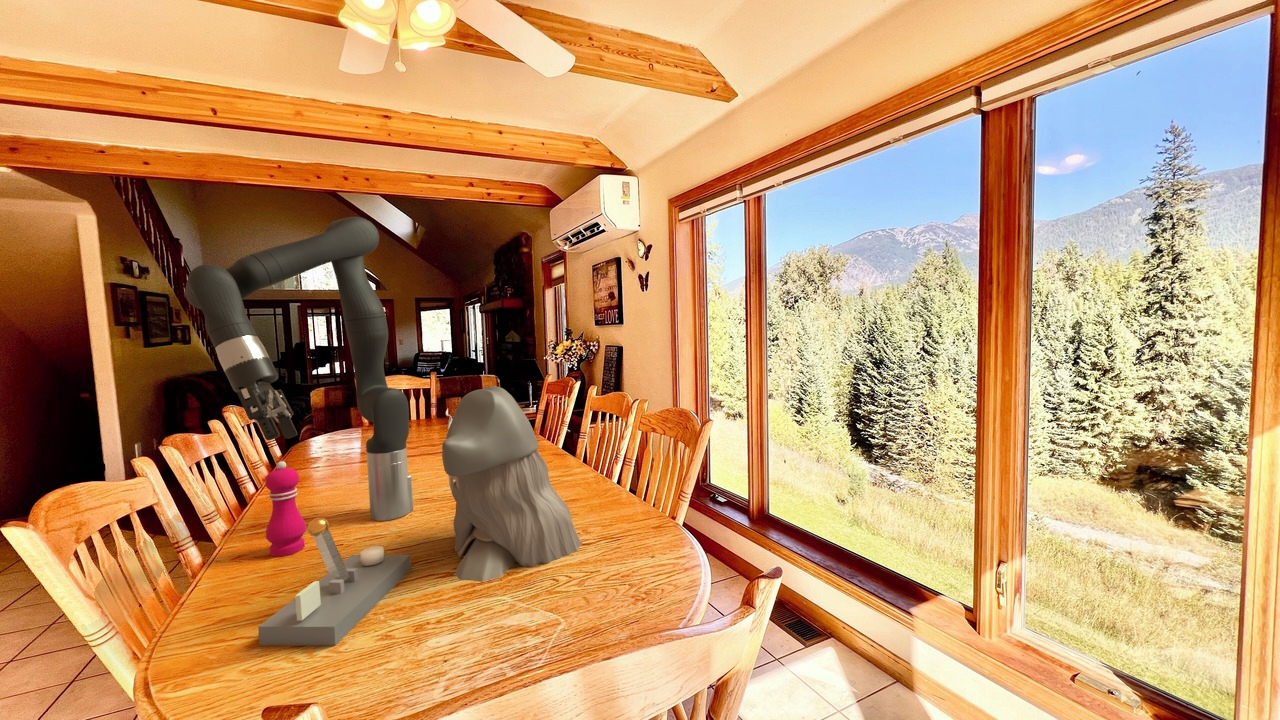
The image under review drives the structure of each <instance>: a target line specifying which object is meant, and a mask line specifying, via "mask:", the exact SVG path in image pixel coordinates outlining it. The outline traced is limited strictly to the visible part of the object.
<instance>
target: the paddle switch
mask: <svg viewBox="0 0 1280 720" xmlns="http://www.w3.org/2000/svg"><path fill="white" fill-rule="evenodd" d="M294 599H295V600H296V614H297V621H302V620H303V619H304V618H306V617H307V616H308V615H309V614H310V613H312V612H313V611H314V610H315V609H316V608H318V607H319V606H320V605H321V600H320V586H319V580H314V581H312V583H310V584H309V585H308V586H306V587H305V588H303V589H302V590H301V591H300V592H298V593H296V594H295V598H294Z"/></svg>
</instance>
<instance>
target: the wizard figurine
mask: <svg viewBox="0 0 1280 720" xmlns="http://www.w3.org/2000/svg"><path fill="white" fill-rule="evenodd" d="M445 416H446V417H449V418H448V426H447V430H448V431H447V432H446V434H445V435H446V436H445V438H446V439H444V441H443V442H442V445H441V450H442V451H441V454H442V455H441V457H442V465H443V470H444V472H445V473H446V474H447V476H448V483H449V488H450V492H451V494H452V497H453V499H454V501H455V502H456V503H455V513H454V518H453V523H452V524H453V531H454V535H455V540H454V541H455V546H454V551H455V552H456V553H457V556H459V557H463V558H462V560H461V561H460V563H459V564H458V566H457V568H456V569H455V571H454V575H455V576H456V578H458V580H459V581H471V582H480V583H484V582H487V581H491V580H494V579H498V578H501V577H503V576H504V575H505V574H506V572H507V571H508V570H509V569H510V568H512V566H513V565H514V564H515V563H518V564H519V566H522V567H530V568H532V567H536V566H538V565H540V564H546V565H547V564H551V562H554V561H557V560H559V559H561V558H564V557H566V556H570V555H571V554H573V553H576V552H578V551H579V548H580V547H582V545H583V544H582V541H581V540H580V538H579V537H580V536H579V534H578V533H577V531H576V528H575V525H574V523H573V518H572V515H571V512H570V509H569V507H568V505H567V503H566V502H565V501H564V500H563V499H562V498H561V497H560V495H559V494H558V492H557V491H556V490H555V489H554V487H553V486H552V483H551V480H550V474H549V468H548V465H547V463H546V461H545V460H544V458H543V457H542V455H541V453H540V452H539V451H538V449H539V446H540V445H539V442H538V439H537V436H536V435H535V431H534V429H533V427H532V425H531V422H530V421H529V419H528V417H527V416H526V413H524V411H523V410H522V408H521V406H520V405H519V404H518V402H517V401H516V399H515V398H514V397H513V396H512V394H510V393H509V392H508V391H507V390H506V389H505V388H503V387H500V386H496V385H490V386H487V387H485V388H483V389H476V390H473V391H471V392H470V391H469V392H468V393H467V394H465V395H463V397H462V398H461V399H460V401H459V403H458V405H457V406H456V409H455V412H454V415H453V418H452V416H451V414H449V408H447V409H446V411H445Z"/></svg>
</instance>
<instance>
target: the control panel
mask: <svg viewBox="0 0 1280 720" xmlns="http://www.w3.org/2000/svg"><path fill="white" fill-rule="evenodd" d="M411 557H412V556H411V554H384V560H383V561H382V562H380V563H378V564H375V565H369V566H365V565H362V564H361V556H360V554H359V555H358V554H354V555H350V556H348V558H346V559H345V560H343V563H344V565H345V568H346V570H347V572H348V574H349V578H347V579H346V580H345V581H344V580H332V579H331V577H330V574H329V572H327V574H325V575H323V576H322V577H321V578H320V579H319V580H318V581H319V586H320V600H321V605H320V606H319V607H318V608H316V609H315V610H314V611H313V612H312V613H310V614H309V615H308V616H307V617H306V618H304V619H303V620H302V621H297V614H296V600H295V598H294V599H293V600H291V601H290V602H288V603H287V604H286V605H285V606H284V607H282V608H281V609H279V610H278V611H277V612H276V613H275V612H274V614H273V615H271V617H268V618H267V619H266V620H265V621H263V623H260V625H259V626H257V627H258V639H259V640H258V641H259V646H337V645H338V643H340V642H341V641H342V640H343V638H344V637H346V635H348V634H349V633H350V632H351V630H352V629H354V628H355V627H356V626H357V625H358V624H359V623H360V622H361V621H362V620H363V619H364V618H365V616H366V615H368V614H369V613H370V612H371V610H372V609H374V608H375V607H376V606H377V605H378V604H379V603H380V601H382V600H383V598H384V597H385V596H386V595H388V594H389V592H391V591H392V589H393V588H395V586H396V585H398V584H399V582H401V581H402V579H403V578H404V577H406V575H407V574H409V572H410V571H412V561H411V560H412V559H411Z"/></svg>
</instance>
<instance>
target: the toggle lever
mask: <svg viewBox="0 0 1280 720" xmlns="http://www.w3.org/2000/svg"><path fill="white" fill-rule="evenodd" d="M307 532H308V534H309V535H310V536H312V537H313V539H314V542H315V544H316V547H317V549H318V552H319V553H320V555H321V558H322V560H323V563H324V565H325V567H326V570H327V573H329V574H330V577H331V579H332V580H344V581H345V580H346V579H347V578H349V574H348V572H347V570H346V568H345V565H344V563H343V562H344V560H343V559H342V557H341V554H340V552H339V550H338V546H337V545H336V542H335V540H334V539H333V535H332V534H331V531H330V522H329V521H328V520H327V519H326V518H324V517H316V518H313V519H312V520H311V521H310V522H309V523H308V525H307Z"/></svg>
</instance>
